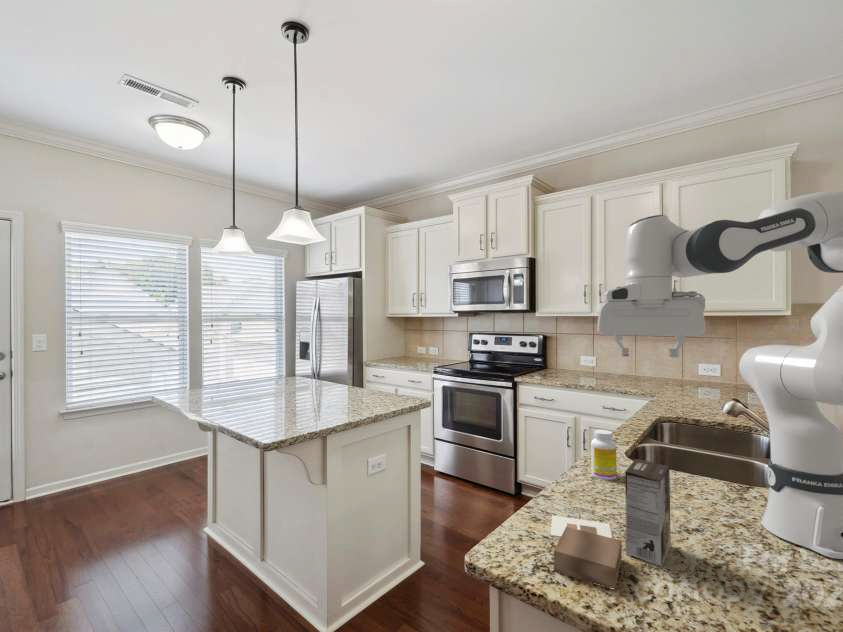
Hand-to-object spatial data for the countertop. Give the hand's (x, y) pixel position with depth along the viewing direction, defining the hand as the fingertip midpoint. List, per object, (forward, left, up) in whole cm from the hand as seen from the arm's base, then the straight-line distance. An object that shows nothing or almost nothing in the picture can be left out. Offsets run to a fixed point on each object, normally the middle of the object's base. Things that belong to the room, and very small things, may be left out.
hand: (648, 356), depth 88 cm
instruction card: (+14, +5, -37) cm, 40 cm away
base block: (+13, +18, -37) cm, 43 cm away
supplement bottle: (+7, -29, -37) cm, 48 cm away
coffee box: (+2, +9, -37) cm, 38 cm away
